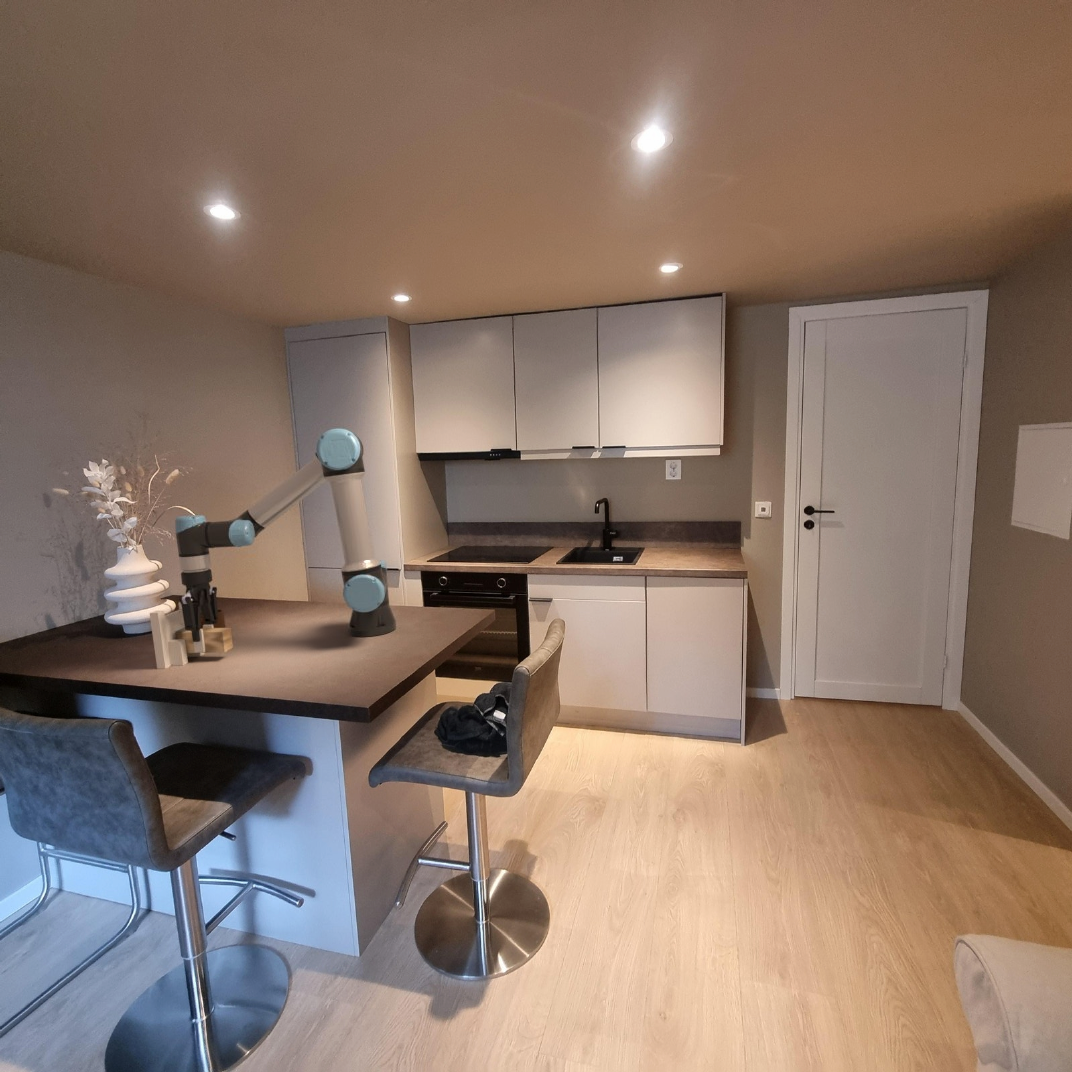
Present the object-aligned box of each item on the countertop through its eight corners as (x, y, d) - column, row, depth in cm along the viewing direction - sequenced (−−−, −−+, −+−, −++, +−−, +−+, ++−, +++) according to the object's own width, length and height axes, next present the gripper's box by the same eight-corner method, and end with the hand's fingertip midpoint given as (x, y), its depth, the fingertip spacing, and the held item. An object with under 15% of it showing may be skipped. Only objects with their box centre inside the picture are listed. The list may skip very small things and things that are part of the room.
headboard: (209, 651, 171) (203, 600, 169) (177, 668, 158) (170, 612, 155) (190, 651, 172) (183, 600, 170) (157, 668, 158) (149, 613, 156)
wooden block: (232, 647, 165) (230, 626, 165) (224, 652, 161) (222, 630, 161) (187, 648, 166) (184, 627, 165) (177, 653, 162) (175, 631, 161)
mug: (198, 649, 174) (195, 619, 173) (181, 647, 177) (177, 618, 175) (232, 637, 185) (228, 609, 184) (215, 636, 188) (211, 608, 186)
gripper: (202, 564, 169) (211, 640, 172) (161, 576, 153) (172, 659, 156) (226, 564, 169) (235, 639, 172) (188, 575, 152) (198, 659, 155)
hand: (205, 648), depth 164 cm, fingers closed on wooden block, 4 cm apart
